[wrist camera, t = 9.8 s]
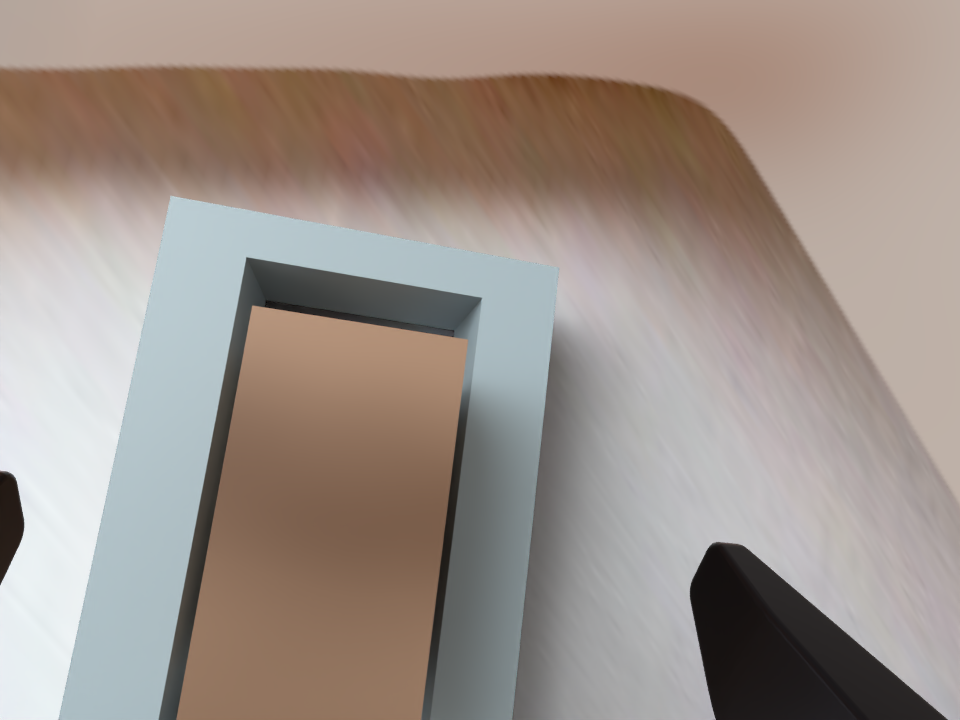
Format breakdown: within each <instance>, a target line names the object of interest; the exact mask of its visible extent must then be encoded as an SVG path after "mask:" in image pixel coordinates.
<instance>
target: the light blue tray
mask: <svg viewBox="0 0 960 720" xmlns="http://www.w3.org/2000/svg"><path fill="white" fill-rule="evenodd" d="M558 274H559V268H558V267H553V266H548V265H542V264H537V263H531V262H526V261H520V260H515V259H510V258H504V257H499V256H493V255H488V254H483V253H477V252H472V251H466V250H461V249H455V248H450V247H445V246H439V245H434V244H428V243H423V242H418V241H412V240H407V239H401V238H396V237H390V236H385V235H380V234H374V233H369V232H363V231H358V230H353V229H347V228H342V227H336V226H331V225H325V224H320V223H315V222H309V221H304V220H298V219H293V218H288V217H282V216H277V215H271V214H266V213H261V212H255V211H250V210H244V209H239V208H233V207H228V206H223V205H217V204H212V203H206V202H201V201H196V200H190V199H185V198H179V197H174V196H171V198H170V202H169V207H168V212H167V216H166V221H165V226H164V230H163V235H162V240H161V244H160V249H159V254H158V258H157V263H156V268H155V272H154V277H153V282H152V286H151V291H150V296H149V300H148V305H147V310H146V314H145V319H144V324H143V328H142V333H141V338H140V342H139V347H138V352H137V356H136V361H135V366H134V370H133V375H132V380H131V384H130V389H129V394H128V398H127V403H126V407H125V412H124V417H123V421H122V426H121V431H120V435H119V440H118V445H117V449H116V454H115V459H114V463H113V468H112V473H111V477H110V482H109V487H108V491H107V496H106V501H105V505H104V510H103V515H102V519H101V524H100V529H99V533H98V538H97V543H96V547H95V552H94V557H93V561H92V566H91V571H90V575H89V580H88V585H87V589H86V594H85V599H84V603H83V608H82V613H81V617H80V622H79V626H78V631H77V636H76V640H75V645H74V650H73V654H72V659H71V664H70V668H69V673H68V678H67V682H66V687H65V692H64V696H63V701H62V706H61V710H60V715H59V720H176V719H177V713H178V708H179V702H180V697H181V691H182V686H183V681H184V675H185V670H186V664H187V659H188V653H189V648H190V642H191V637H192V631H193V626H194V621H195V615H196V610H197V604H198V599H199V593H200V588H201V582H202V577H203V571H204V566H205V561H206V555H207V550H208V544H209V539H210V533H211V528H212V522H213V517H214V511H215V506H216V501H217V495H218V490H219V484H220V479H221V473H222V468H223V462H224V457H225V451H226V446H227V440H228V435H229V430H230V424H231V419H232V413H233V408H234V402H235V397H236V391H237V386H238V380H239V375H240V370H241V364H242V359H243V353H244V348H245V342H246V337H247V331H248V326H249V320H250V315H251V310H252V306H259V307H265V302H266V300H269V301H275V302H281V303H287V304H293V305H299V306H306V307H312V308H318V309H324V310H330V311H336V312H343V313H349V314H355V315H361V316H367V317H373V318H380V319H386V320H392V321H398V322H404V323H410V324H416V325H423V326H429V327H435V328H441V329H447V330H453V331H454V337H455V338H461V339H467V340H468V346H467V354H466V362H465V370H464V378H463V386H462V394H461V402H460V410H459V418H458V426H457V434H456V442H455V450H454V459H453V467H452V475H451V483H450V491H449V499H448V507H447V515H446V523H445V531H444V539H443V547H442V555H441V563H440V571H439V579H438V587H437V595H436V603H435V612H434V620H433V628H432V636H431V644H430V652H429V660H428V668H427V676H426V684H425V692H424V700H423V708H422V716H421V720H512V717H513V708H514V698H515V689H516V679H517V669H518V660H519V650H520V640H521V631H522V621H523V611H524V602H525V592H526V583H527V573H528V563H529V554H530V544H531V534H532V525H533V515H534V505H535V496H536V486H537V477H538V467H539V457H540V448H541V438H542V428H543V419H544V409H545V399H546V390H547V380H548V371H549V361H550V351H551V342H552V332H553V322H554V313H555V303H556V294H557V284H558Z"/></svg>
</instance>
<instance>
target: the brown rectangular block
mask: <svg viewBox="0 0 960 720" xmlns="http://www.w3.org/2000/svg"><path fill="white" fill-rule="evenodd" d="M467 346H468V340H467V339H461V338H455V337H448V336H442V335H436V334H429V333H423V332H417V331H411V330H404V329H398V328H392V327H385V326H379V325H373V324H366V323H360V322H354V321H347V320H341V319H335V318H328V317H322V316H316V315H309V314H303V313H297V312H290V311H284V310H278V309H271V308H265V307H259V306H252V310H251V315H250V320H249V326H248V331H247V337H246V342H245V348H244V353H243V359H242V364H241V370H240V375H239V380H238V386H237V391H236V397H235V402H234V408H233V413H232V419H231V424H230V430H229V435H228V440H227V446H226V451H225V457H224V462H223V468H222V473H221V479H220V484H219V490H218V495H217V501H216V506H215V511H214V517H213V522H212V528H211V533H210V539H209V544H208V550H207V555H206V561H205V566H204V571H203V577H202V582H201V588H200V593H199V599H198V604H197V610H196V615H195V621H194V626H193V631H192V637H191V642H190V648H189V653H188V659H187V664H186V670H185V675H184V681H183V686H182V691H181V697H180V702H179V708H178V713H177V719H176V720H421V716H422V708H423V700H424V692H425V684H426V676H427V668H428V660H429V652H430V644H431V636H432V628H433V620H434V612H435V603H436V595H437V587H438V579H439V571H440V563H441V555H442V547H443V539H444V531H445V523H446V515H447V507H448V499H449V491H450V483H451V475H452V467H453V459H454V450H455V442H456V434H457V426H458V418H459V410H460V402H461V394H462V386H463V378H464V370H465V362H466V354H467Z"/></svg>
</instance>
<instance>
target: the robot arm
mask: <svg viewBox="0 0 960 720" xmlns="http://www.w3.org/2000/svg"><path fill="white" fill-rule="evenodd" d="M23 532H24V517H23V512H22V507H21V501H20V496H19V491H18V485H17V481H16V478H15V477H14V476H13V474H11V473H9V472H6V471H0V585H1V583H2V581H3V578H4V576H5V574H6V572H7V570H8V568H9V566H10V564H11V562H12V559H13V557H14V555H15V553H16V551H17V549H18V547H19V545H20V542H21V540H22V536H23ZM690 600H691V606H692V611H693V616H694V621H695V626H696V631H697V636H698V641H699V646H700V651H701V656H702V661H703V666H704V671H705V676H706V681H707V686H708V691H709V695H710V700H711V704H712V708H713V711H714V715H715V718H716V720H947V719H946V718H945V717H944V716H943V715H942V714H940V713H939V712H938V711H937V710H936V709H935V708H933V707H932V706H931V705H930V704H929V703H928V702H926V701H925V700H924V699H923V698H922V697H920V696H919V695H918V694H917V693H916V692H915V691H913V690H912V689H911V688H910V687H909V686H908V685H906V684H905V683H904V682H903V681H902V680H901V679H899V678H898V677H897V676H896V675H895V674H894V673H892V672H891V671H890V670H889V669H888V668H886V667H885V666H884V665H883V664H882V663H881V662H879V661H878V660H877V659H876V658H875V657H874V656H872V655H871V654H870V653H869V652H868V651H867V650H865V649H864V648H863V647H862V646H861V645H860V644H858V643H857V642H856V641H855V640H854V639H852V638H851V637H850V636H849V635H848V634H847V633H845V632H844V631H843V630H842V629H841V628H840V627H838V626H837V625H836V624H835V623H834V622H833V621H831V620H830V619H829V618H828V617H827V616H826V615H824V614H823V613H822V612H821V611H820V610H818V609H817V608H816V607H815V606H814V605H813V604H811V603H810V602H809V601H808V600H807V599H806V598H804V597H803V596H802V595H801V594H800V593H799V592H797V591H796V590H795V589H794V588H793V587H792V586H790V585H789V584H788V583H787V582H786V581H784V580H783V579H782V578H781V577H780V576H779V575H777V574H776V573H775V572H774V571H773V570H772V569H770V568H769V567H768V566H767V565H766V564H765V563H763V562H762V561H761V560H760V559H759V558H758V557H756V556H755V555H754V554H753V553H752V552H750V551H749V550H748V549H747V548H746V547H744V546H742V545H739V544H733V543H723V542H716V543H713V544H712V545H710V546H709V548H708V549H707V551H706V553H705V555H704V557H703V559H702V561H701V563H700V565H699V568H698V570H697V572H696V574H695V576H694V578H693V580H692V582H691V587H690Z"/></svg>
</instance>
